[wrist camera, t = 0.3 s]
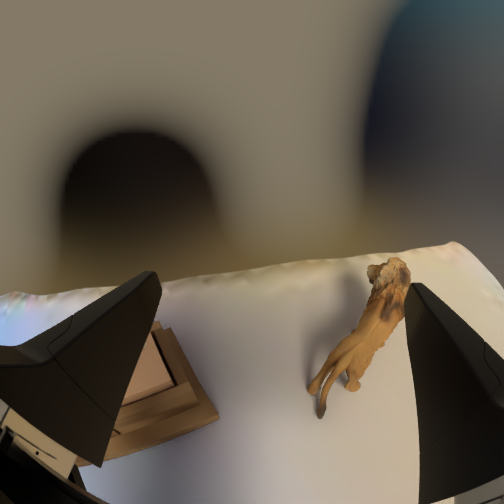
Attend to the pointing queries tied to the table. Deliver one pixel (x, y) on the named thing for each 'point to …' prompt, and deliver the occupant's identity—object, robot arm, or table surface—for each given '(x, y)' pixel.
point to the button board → (161, 406)
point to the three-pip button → (148, 375)
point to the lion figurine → (367, 329)
